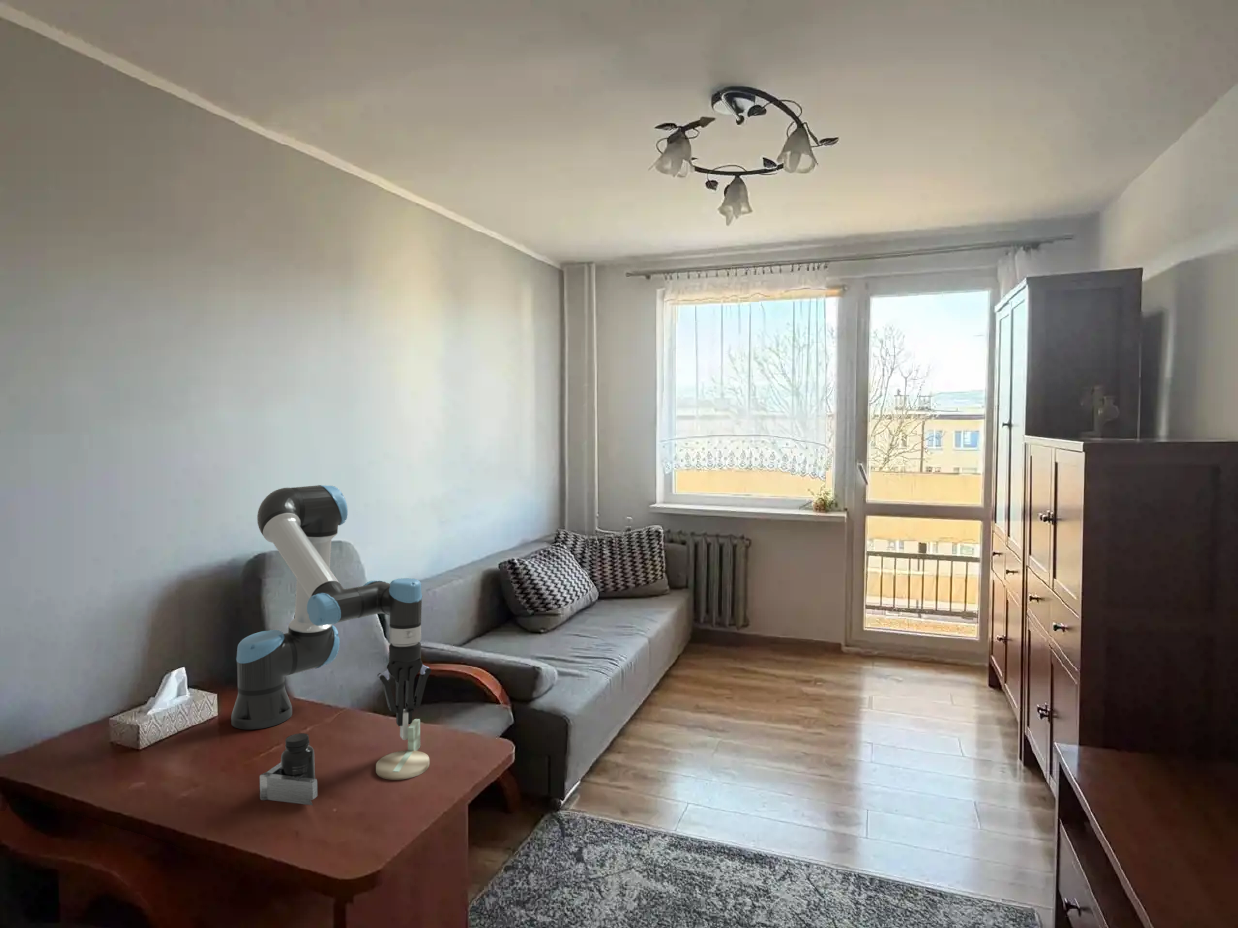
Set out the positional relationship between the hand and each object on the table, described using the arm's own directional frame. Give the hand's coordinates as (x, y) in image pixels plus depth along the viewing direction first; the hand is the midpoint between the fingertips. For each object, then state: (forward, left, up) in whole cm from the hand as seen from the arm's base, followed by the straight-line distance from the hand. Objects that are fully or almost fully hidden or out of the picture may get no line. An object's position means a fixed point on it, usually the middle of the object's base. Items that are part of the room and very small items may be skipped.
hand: (404, 737), depth 178 cm
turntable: (+6, -1, -3) cm, 7 cm away
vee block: (+3, -27, -5) cm, 28 cm away
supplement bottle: (+3, -25, -5) cm, 25 cm away
